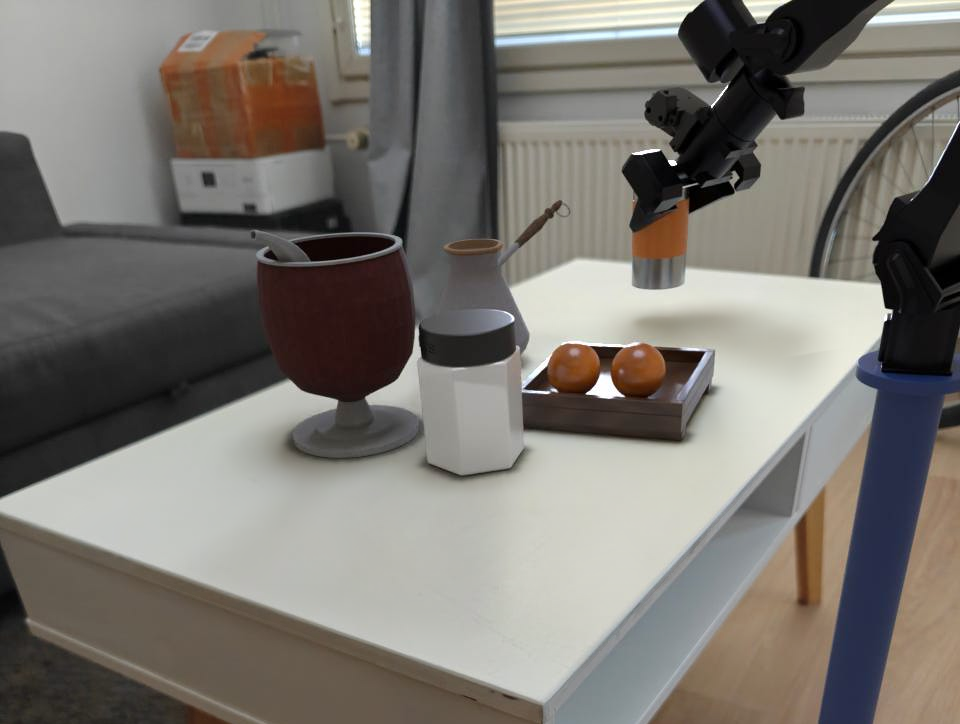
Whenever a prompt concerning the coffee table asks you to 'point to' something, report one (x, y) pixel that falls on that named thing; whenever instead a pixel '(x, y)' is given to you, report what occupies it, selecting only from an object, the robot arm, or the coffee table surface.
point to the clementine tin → (661, 249)
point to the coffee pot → (487, 275)
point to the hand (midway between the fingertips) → (651, 224)
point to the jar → (471, 390)
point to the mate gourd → (340, 333)
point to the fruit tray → (617, 389)
